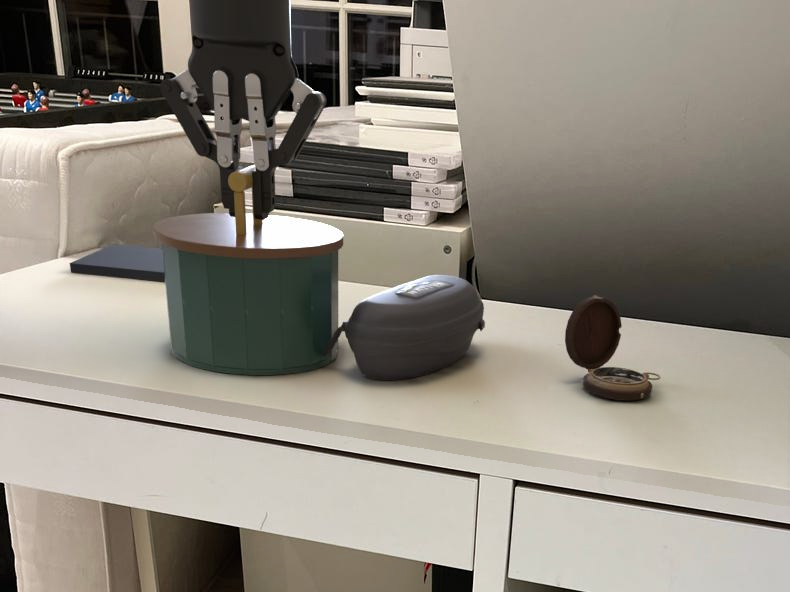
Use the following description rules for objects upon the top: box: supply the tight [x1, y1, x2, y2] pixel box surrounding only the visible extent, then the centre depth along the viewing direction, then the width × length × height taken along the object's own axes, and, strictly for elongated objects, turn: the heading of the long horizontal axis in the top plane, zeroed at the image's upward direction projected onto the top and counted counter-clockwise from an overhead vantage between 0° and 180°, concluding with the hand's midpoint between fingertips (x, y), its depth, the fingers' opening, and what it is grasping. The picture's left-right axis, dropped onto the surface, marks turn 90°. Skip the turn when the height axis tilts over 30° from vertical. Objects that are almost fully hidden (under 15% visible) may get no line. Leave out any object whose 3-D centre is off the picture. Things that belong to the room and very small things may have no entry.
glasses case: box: [324, 274, 486, 381], centre depth 88 cm, size 18×10×8 cm, turn 154°
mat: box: [69, 243, 165, 283], centre depth 113 cm, size 12×12×1 cm
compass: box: [564, 295, 661, 401], centre depth 86 cm, size 8×8×7 cm
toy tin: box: [161, 243, 339, 376], centre depth 86 cm, size 15×15×10 cm
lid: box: [152, 164, 344, 259], centre depth 82 cm, size 16×16×6 cm
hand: (249, 216), depth 82 cm, fingers closed on lid, 1 cm apart
